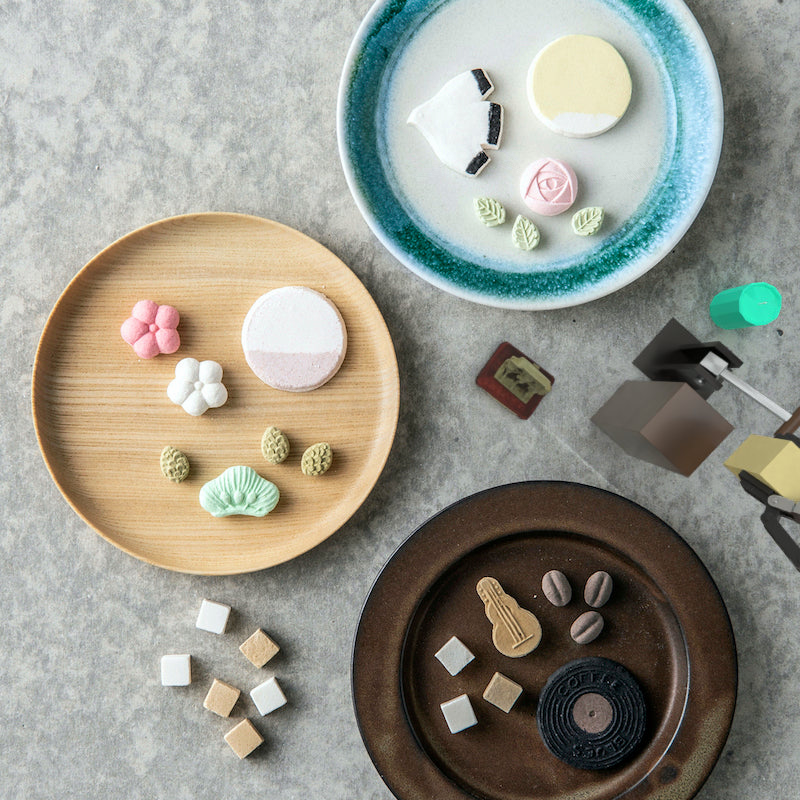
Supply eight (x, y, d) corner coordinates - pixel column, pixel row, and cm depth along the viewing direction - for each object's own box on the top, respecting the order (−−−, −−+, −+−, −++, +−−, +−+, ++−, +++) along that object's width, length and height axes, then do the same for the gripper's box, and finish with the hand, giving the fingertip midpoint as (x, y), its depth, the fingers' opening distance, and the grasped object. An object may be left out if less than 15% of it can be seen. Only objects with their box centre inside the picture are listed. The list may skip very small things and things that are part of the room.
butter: (785, 465, 76) (829, 476, 68) (756, 495, 76) (797, 509, 68) (751, 433, 76) (791, 440, 68) (722, 463, 76) (759, 474, 68)
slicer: (729, 370, 108) (776, 370, 94) (688, 415, 108) (729, 421, 94) (670, 317, 107) (708, 309, 94) (629, 362, 108) (661, 361, 94)
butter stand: (663, 415, 108) (735, 428, 84) (626, 454, 108) (688, 478, 84) (624, 379, 108) (685, 382, 84) (588, 418, 108) (638, 432, 84)
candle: (702, 326, 107) (739, 320, 95) (710, 286, 107) (748, 276, 95) (742, 333, 107) (783, 328, 95) (749, 294, 107) (792, 284, 95)
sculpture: (470, 383, 108) (479, 385, 93) (501, 340, 108) (516, 335, 93) (522, 421, 108) (540, 429, 93) (554, 377, 108) (577, 379, 93)
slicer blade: (812, 412, 91) (816, 408, 89) (783, 444, 92) (786, 441, 89) (717, 347, 97) (718, 341, 95) (690, 377, 97) (690, 372, 95)
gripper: (996, 492, 57) (803, 387, 69) (871, 621, 58) (701, 494, 70) (990, 523, 63) (812, 421, 74) (876, 641, 63) (717, 520, 75)
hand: (759, 457), depth 72 cm, fingers closed on butter, 4 cm apart
